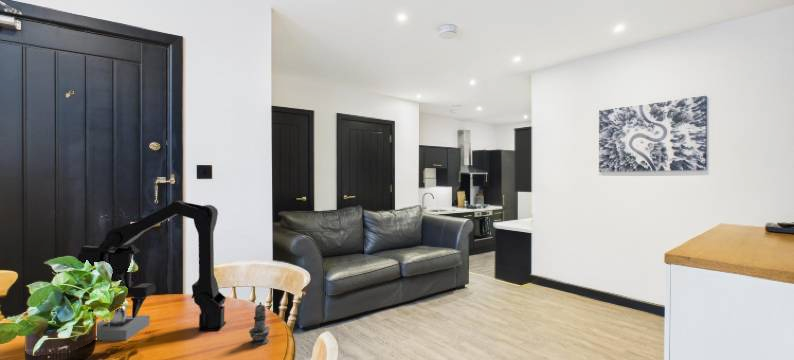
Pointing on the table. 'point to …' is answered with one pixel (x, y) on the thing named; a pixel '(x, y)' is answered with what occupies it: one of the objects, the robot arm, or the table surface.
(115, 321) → the grey metallic cylinder
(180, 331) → the table surface
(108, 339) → the socket block
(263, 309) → the grey tower figurine
